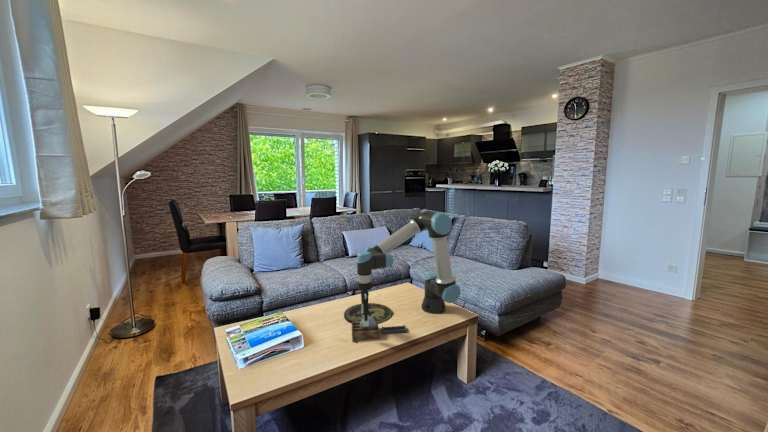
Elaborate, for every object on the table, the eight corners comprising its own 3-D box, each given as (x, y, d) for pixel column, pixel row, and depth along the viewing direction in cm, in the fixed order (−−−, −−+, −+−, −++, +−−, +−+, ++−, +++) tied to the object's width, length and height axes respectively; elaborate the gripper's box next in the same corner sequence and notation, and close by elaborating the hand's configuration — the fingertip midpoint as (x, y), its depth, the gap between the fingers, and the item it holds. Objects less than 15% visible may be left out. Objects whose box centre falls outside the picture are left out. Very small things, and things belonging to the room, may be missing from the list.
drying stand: (404, 328, 181) (404, 325, 180) (407, 334, 175) (407, 330, 174) (381, 330, 179) (381, 326, 179) (383, 335, 173) (383, 331, 173)
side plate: (373, 334, 175) (378, 319, 174) (373, 335, 173) (379, 320, 173) (357, 330, 173) (363, 314, 173) (357, 331, 172) (363, 316, 171)
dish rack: (376, 329, 180) (376, 320, 180) (379, 339, 169) (379, 330, 168) (351, 330, 179) (351, 322, 178) (352, 341, 167) (352, 332, 166)
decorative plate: (337, 321, 187) (352, 300, 216) (337, 324, 187) (352, 303, 216) (388, 326, 181) (396, 304, 210) (387, 329, 181) (396, 307, 210)
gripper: (356, 274, 181) (356, 311, 184) (358, 289, 157) (359, 331, 160) (369, 273, 182) (369, 310, 185) (374, 289, 158) (374, 330, 161)
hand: (365, 320), depth 173 cm, fingers open, 12 cm apart
